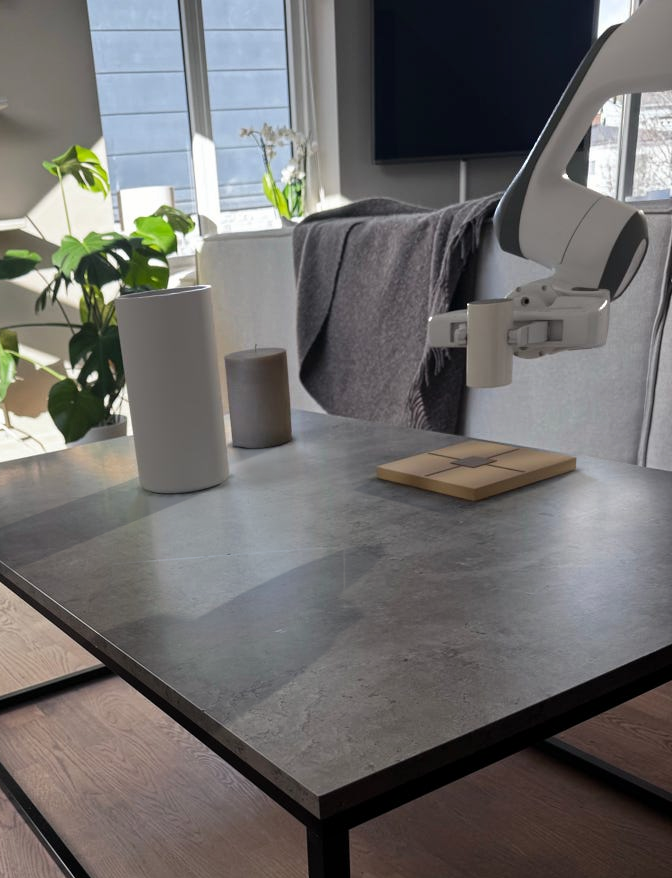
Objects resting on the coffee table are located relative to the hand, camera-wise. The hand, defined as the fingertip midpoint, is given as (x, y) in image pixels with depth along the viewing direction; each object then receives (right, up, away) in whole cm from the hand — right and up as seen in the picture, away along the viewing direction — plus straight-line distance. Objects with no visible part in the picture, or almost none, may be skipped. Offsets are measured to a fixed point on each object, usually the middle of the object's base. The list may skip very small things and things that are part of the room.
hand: (487, 338), depth 102 cm
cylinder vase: (-34, -12, +25) cm, 44 cm away
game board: (+2, -13, +13) cm, 18 cm away
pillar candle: (-22, -2, +43) cm, 49 cm away
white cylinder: (+1, -4, +3) cm, 5 cm away
